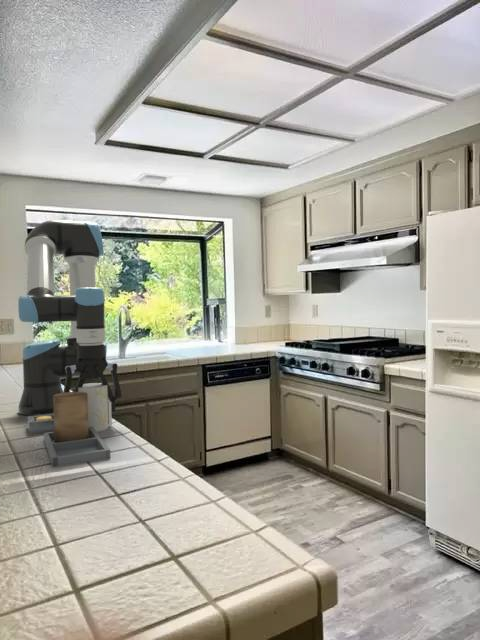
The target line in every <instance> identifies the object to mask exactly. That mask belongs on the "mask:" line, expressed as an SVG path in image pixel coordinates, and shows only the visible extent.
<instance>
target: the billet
mask: <svg viewBox="0 0 480 640" xmlns="http://www.w3.org/2000/svg"><path fill="white" fill-rule="evenodd" d="M53 404H54V413H53V414H54V431H53V432H54V439H53V440H54V443H59V442H66V441H74V440H81V439H88V438H90V437H89V436H90V435H89V433H88V395H87V393H86V392H73V391H70V392H65V393H59V394H56V395H54V396H53Z"/></svg>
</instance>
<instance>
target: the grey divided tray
mask: <svg viewBox="0 0 480 640" xmlns="http://www.w3.org/2000/svg"><path fill="white" fill-rule="evenodd" d="M88 433H89V436H90V437H89V438H88V439H81V440H74V441H66V442H59V443H55V442H53V441H52V440H55V439H54V431H51V432H43V442H44V444H45V447H46V451H47V453H48V457H49V459H50V460H49V461H50V462H51V466H52V468H58V467H62V466H68V465H75V464H82V463H87V462H94V461H100V460H101V461H102V460H106V459H107V460H108V459H111V449H110V448H109V446H108V445H107V444H106V443H105V441H104V440H103V439H102V437H101V436H100V435H99V433H98V432H96V431H95V430H94V428H93V427H88Z"/></svg>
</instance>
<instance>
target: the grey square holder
mask: <svg viewBox="0 0 480 640" xmlns="http://www.w3.org/2000/svg"><path fill="white" fill-rule="evenodd" d="M43 416H51V417H52V419H47V420H38V421H36V418H38V417H43ZM27 430H28V434H29V435H33V434H39V433H40V434H44V433H48V432H54V413H48V414H38V415H28V416H27Z"/></svg>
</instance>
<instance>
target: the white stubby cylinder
mask: <svg viewBox="0 0 480 640" xmlns="http://www.w3.org/2000/svg"><path fill="white" fill-rule="evenodd" d="M78 392H86V393H87V395H88V427H93V428H94V430H95V431H96V432H97V433H99V432H103V431H105V430H107V429H109V426H110V425H109V424H108V400H109V397H108V388H107V385H103V384H102V383H101V382H91V383H84V384H83V386H82V387H81V388H78Z"/></svg>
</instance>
